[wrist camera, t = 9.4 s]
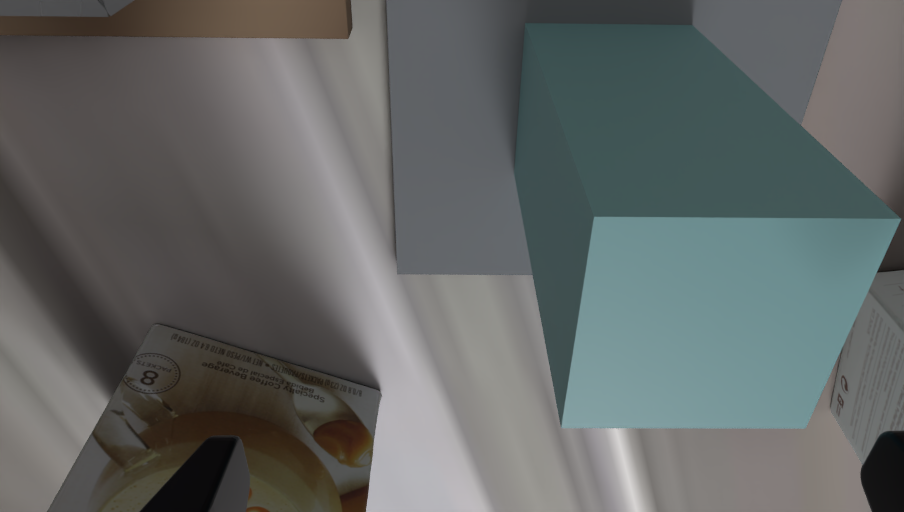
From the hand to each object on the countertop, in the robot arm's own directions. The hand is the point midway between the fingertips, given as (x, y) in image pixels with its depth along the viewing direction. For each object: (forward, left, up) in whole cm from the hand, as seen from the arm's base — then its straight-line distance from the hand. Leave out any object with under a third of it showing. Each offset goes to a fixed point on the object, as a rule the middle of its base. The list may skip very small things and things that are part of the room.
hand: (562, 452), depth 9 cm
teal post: (+3, 0, -12) cm, 12 cm away
